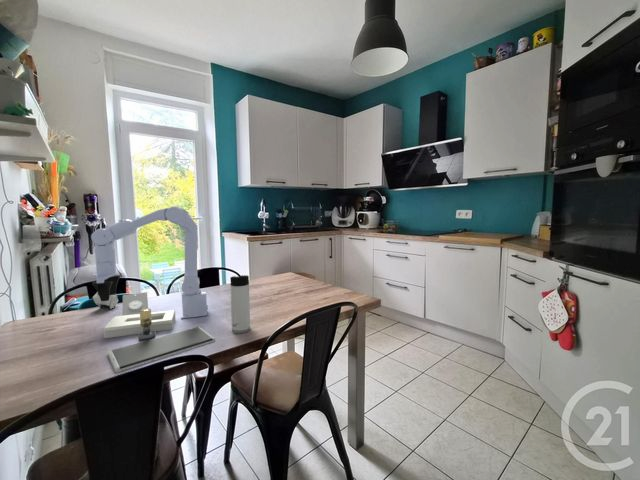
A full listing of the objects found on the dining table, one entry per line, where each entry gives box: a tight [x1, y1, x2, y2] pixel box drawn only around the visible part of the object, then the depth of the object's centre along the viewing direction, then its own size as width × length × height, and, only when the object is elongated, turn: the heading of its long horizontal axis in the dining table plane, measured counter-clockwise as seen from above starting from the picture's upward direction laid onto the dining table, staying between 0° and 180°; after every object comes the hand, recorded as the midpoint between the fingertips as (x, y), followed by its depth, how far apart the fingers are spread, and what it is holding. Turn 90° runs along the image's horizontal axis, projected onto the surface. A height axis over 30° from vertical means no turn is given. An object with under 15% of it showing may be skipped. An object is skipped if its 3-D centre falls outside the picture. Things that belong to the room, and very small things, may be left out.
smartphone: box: [107, 326, 216, 373], centre depth 89 cm, size 13×27×2 cm, turn 134°
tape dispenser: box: [92, 291, 119, 310], centre depth 124 cm, size 6×7×10 cm
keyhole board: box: [103, 309, 176, 339], centre depth 103 cm, size 20×11×4 cm, turn 111°
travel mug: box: [230, 275, 251, 334], centre depth 101 cm, size 6×7×20 cm
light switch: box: [121, 291, 149, 316], centre depth 115 cm, size 8×6×14 cm
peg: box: [137, 308, 156, 342], centre depth 95 cm, size 5×5×10 cm
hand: (108, 297), depth 106 cm, fingers open, 7 cm apart
